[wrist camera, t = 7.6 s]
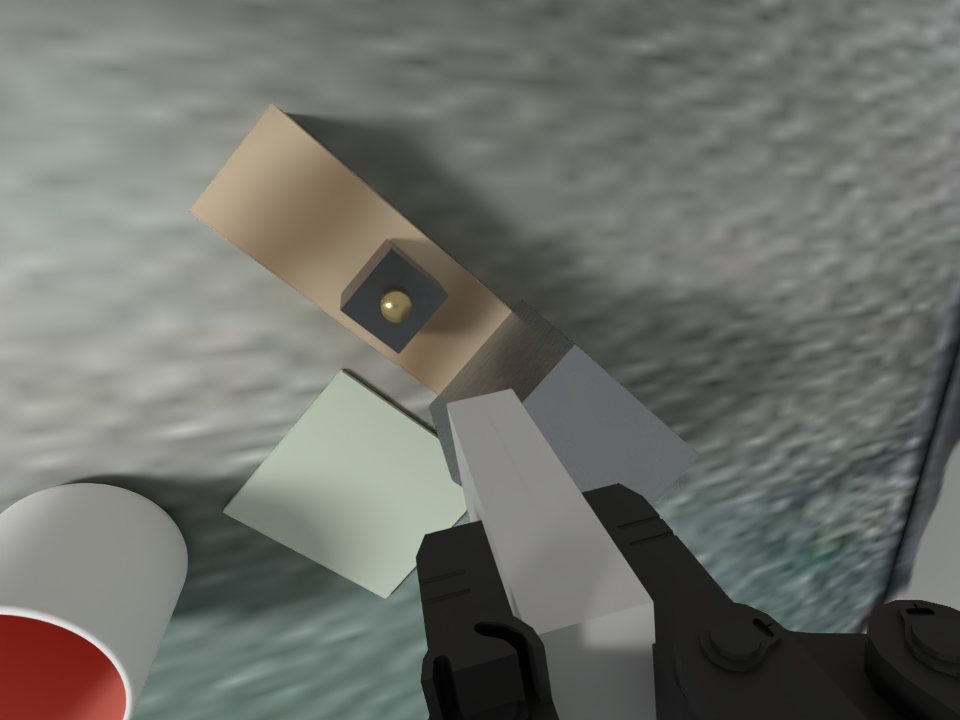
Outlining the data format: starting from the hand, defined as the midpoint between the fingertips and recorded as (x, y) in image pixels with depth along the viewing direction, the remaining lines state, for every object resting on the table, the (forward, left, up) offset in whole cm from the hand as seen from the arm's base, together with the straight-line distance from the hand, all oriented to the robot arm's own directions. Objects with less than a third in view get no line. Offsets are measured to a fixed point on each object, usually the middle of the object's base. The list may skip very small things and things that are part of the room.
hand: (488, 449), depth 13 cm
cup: (-4, -23, -20) cm, 31 cm away
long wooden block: (+1, 0, -19) cm, 20 cm away
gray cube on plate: (+8, 0, -15) cm, 16 cm away
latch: (-1, 0, -14) cm, 14 cm away
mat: (+6, -12, -20) cm, 24 cm away
